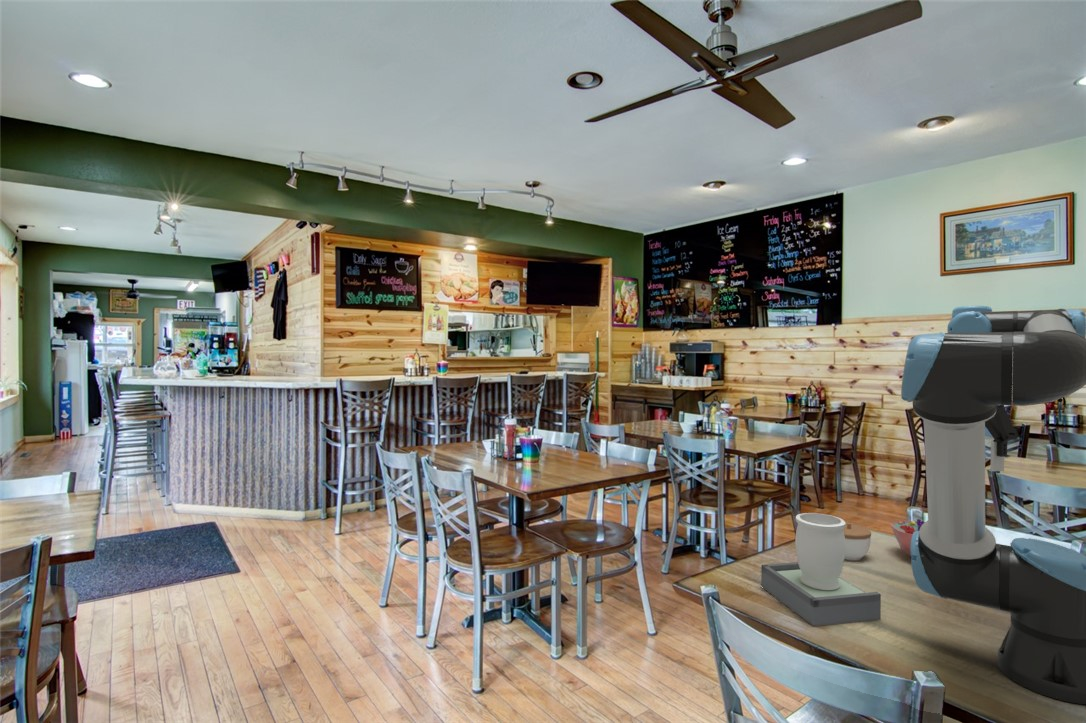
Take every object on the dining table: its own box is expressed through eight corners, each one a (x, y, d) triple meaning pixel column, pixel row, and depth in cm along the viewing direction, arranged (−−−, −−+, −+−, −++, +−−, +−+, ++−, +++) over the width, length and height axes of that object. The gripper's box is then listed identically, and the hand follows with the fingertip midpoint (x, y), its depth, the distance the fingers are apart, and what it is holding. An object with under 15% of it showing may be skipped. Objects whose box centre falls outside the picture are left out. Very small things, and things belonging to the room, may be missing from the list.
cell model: (907, 544, 170) (907, 506, 169) (988, 565, 153) (988, 523, 153) (878, 556, 160) (878, 515, 160) (960, 580, 144) (961, 535, 143)
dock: (880, 619, 123) (880, 594, 123) (813, 626, 120) (813, 600, 120) (820, 581, 143) (820, 560, 143) (761, 587, 140) (761, 564, 140)
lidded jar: (821, 556, 160) (821, 523, 160) (836, 547, 168) (836, 515, 167) (862, 566, 152) (863, 532, 152) (876, 556, 160) (876, 523, 159)
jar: (851, 595, 125) (852, 527, 125) (801, 591, 128) (801, 524, 127) (837, 576, 136) (837, 513, 135) (790, 572, 138) (790, 511, 138)
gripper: (1040, 375, 121) (1037, 475, 121) (937, 371, 145) (936, 454, 145) (1010, 375, 119) (1008, 476, 120) (912, 371, 144) (910, 455, 144)
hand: (968, 465), depth 132 cm, fingers open, 13 cm apart
